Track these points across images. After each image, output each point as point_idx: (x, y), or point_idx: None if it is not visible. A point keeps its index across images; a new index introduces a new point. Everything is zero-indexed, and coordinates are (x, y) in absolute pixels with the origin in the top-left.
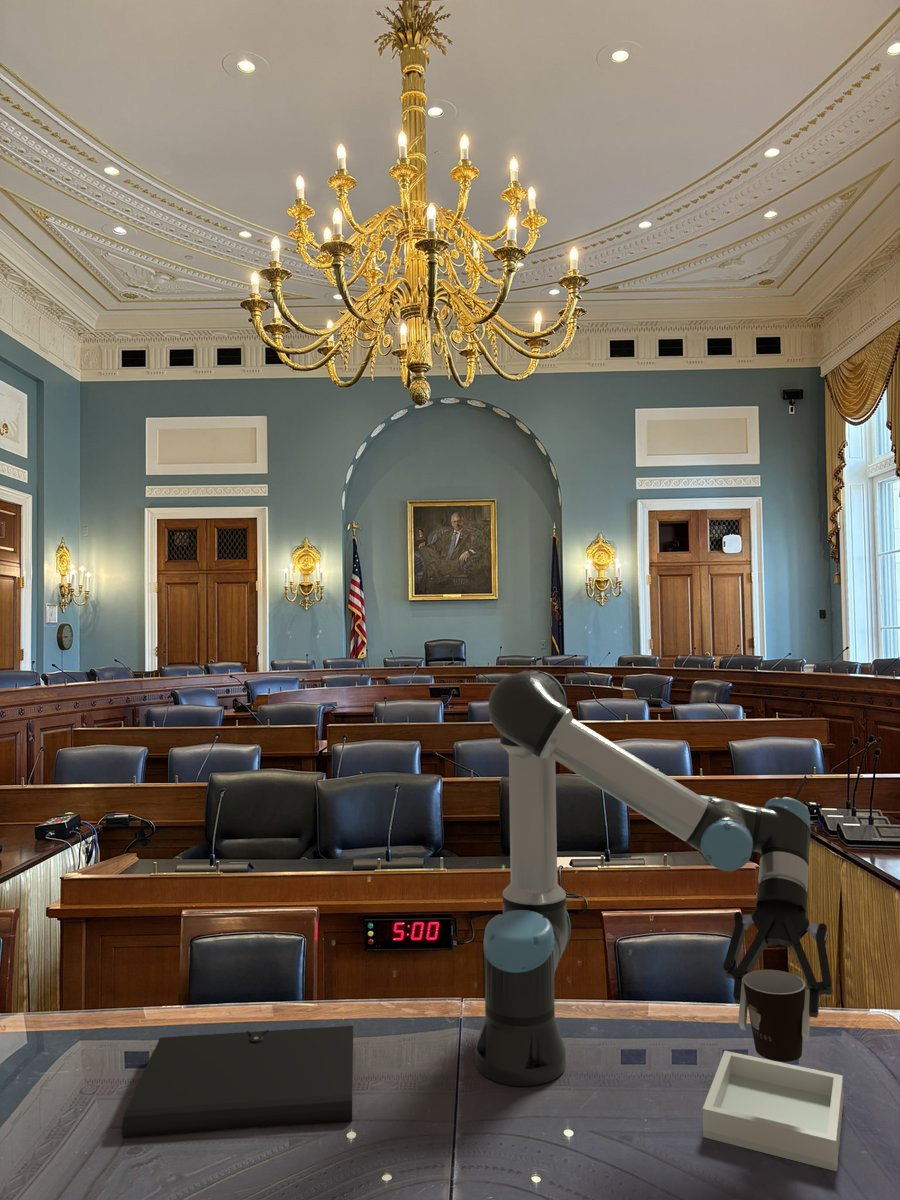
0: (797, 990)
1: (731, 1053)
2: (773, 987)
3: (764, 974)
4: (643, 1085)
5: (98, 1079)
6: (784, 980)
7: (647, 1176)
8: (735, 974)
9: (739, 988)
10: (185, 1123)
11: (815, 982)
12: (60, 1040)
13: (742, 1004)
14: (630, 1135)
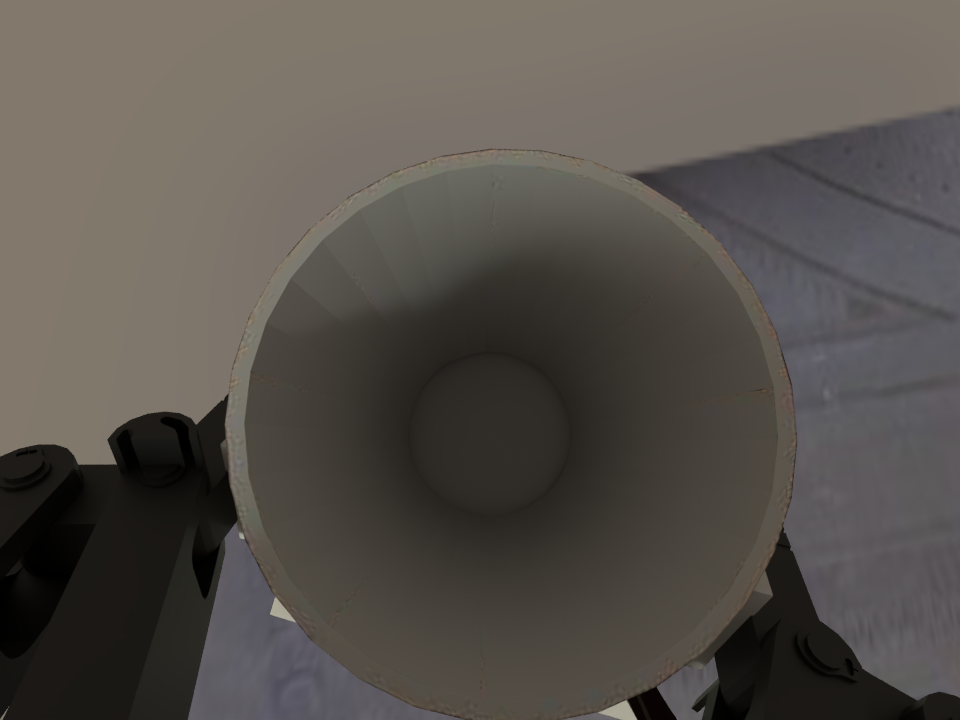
0: (317, 505)
1: (617, 706)
2: (486, 618)
3: (567, 667)
4: (855, 571)
5: None
6: (390, 618)
7: (795, 182)
8: (843, 647)
9: None
10: None
11: (126, 487)
12: None
13: None
14: (853, 319)
